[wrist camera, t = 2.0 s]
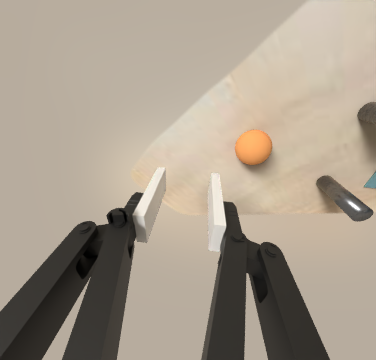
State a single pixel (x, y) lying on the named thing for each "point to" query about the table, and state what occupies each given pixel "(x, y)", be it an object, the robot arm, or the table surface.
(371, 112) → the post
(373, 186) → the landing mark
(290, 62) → the table surface
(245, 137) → the ball
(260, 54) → the table surface
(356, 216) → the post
